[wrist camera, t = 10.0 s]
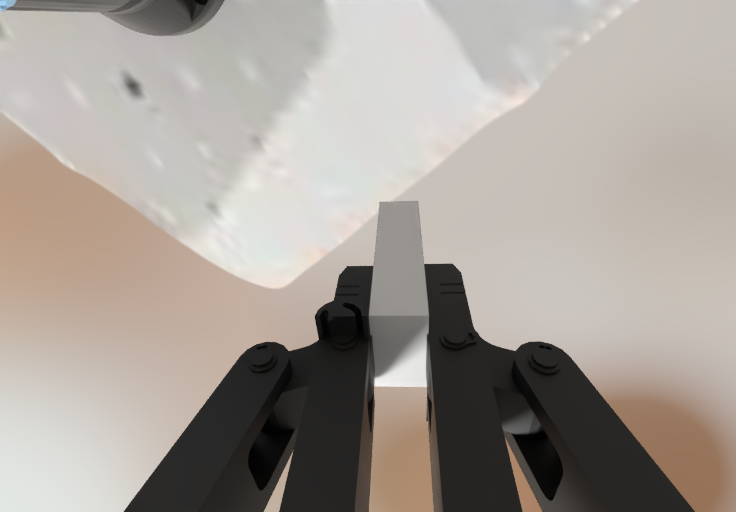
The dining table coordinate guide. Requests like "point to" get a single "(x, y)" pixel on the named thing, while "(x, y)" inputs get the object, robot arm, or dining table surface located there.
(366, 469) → the robot arm
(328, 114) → the dining table surface
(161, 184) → the dining table surface
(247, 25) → the dining table surface
